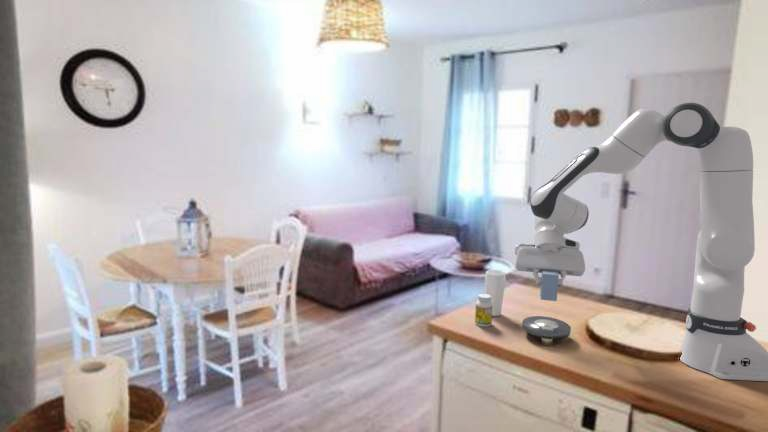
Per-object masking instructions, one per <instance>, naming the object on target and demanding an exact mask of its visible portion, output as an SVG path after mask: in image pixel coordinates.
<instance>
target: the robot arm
mask: <svg viewBox="0 0 768 432" xmlns="http://www.w3.org/2000/svg"><path fill="white" fill-rule="evenodd" d="M751 140H752V139H751V137H750V134H749V133H748V131H746V130H745V129H743V128H741V127H738V126H737V127H736V126H721V125H720V124H719V122H717V120H716V118H715V117H714V116H713V114H712V112H711V111H710V110H709V109H708V107H706V106H704V105H702V104H700V103H696V102H685V103H680V104H678V105H675V106H674V107H673V108H671V109H670V110H669V111H668V112H667V113H665V114H664V113H660V112H659V111H657V110H656V109H652V108H648V107H647V108H640V109H637V110H636V111H634V112H633V113H632V114H631V115H629V117H628V118H626V119H625V120H624V121H623V122H622V123H621V124H620V125H619V126H618V127H617V128H615V130H614V131H613V132H612V134H611V135H610V136H609V137H607V139H605V141H603V142H601V143H600V144H598V145H595V146H591V147H587V148H586V149H584V150H582V151H581V152H580V153H579V154H578V155H576V157H574V158H573V159H572V160H571V161H570V162H569V163H568V164H567V165H566V166H564V167H563V168H562V169H561V170H559V172H557V174H555V175H554V176H553V177H552V178H551V179H550V180H549V181H548V182H546V183H544V184H543V185H542V186H541V187H539V188H537V189H536V190H535V191H534V192H533V194H532V196H531V198H530V201H529V204H530V205H529V206H530V209H531V211H532V214H533V215H534V216H535V217H534V230H535V236H534V244H530V243H529V244H527V243H526V244H525V243H520V244H518V245H516V246H515V248H514V254H515V255H516V259H515V267H514V268H515V269H516V270H517V272H528V273H532V276H533V277H534V280H536V285H540V286H541V285H542V276H541V277H540V276H539V274H542V270H547V271H557V272H558V274H559V276H560V278H559V279H558V288H559V287H560V288H561V287H563V281H564V280H565V279H566V277H567V276H571V277H582V276H583V275H584V274H585V272H586V263H585V258H584V255H583V254H584V253H583V252H582V251H581V250H580V248H581V247H580V246H581V244H580V242H578V241H576V240H572V239H569V238H567V237H564V235H565V234H566V235H567V234H570V233H573V232H576V231H579V230H581V229H582V228H583V227H585V226H586V224H587V222H588V219H589V213H590V212H589V207H588V205H586V204H585V203H583V202H582V201H580V200H578V199H576V198H574V197H572V196H570V195H568V194H566V193H565V192H566V191H567V190H569V188H571V187H572V186H573V185H574V184H575V183H576V182H577V181H578V180H580V179H581V178H582V177H583V176H586V175H588V174H593V173H604V174H612V175H613V174H614V175H616V174H617V175H618V174H619V175H620V174H626V173H629V172H631V171H632V170H634V169H635V168H637V167H638V166H639V165H640V164H641V163H642V162H643V160H644V159H645V158H646V157H647V156H648V155H649V154H650V153H651V151H652V150H653V149H654V148H655V147H656V146H658V145H659V144H661V143H663V142H666V141H667V142H670V143H671V142H672V143H673V144H675V145H676V146H681V147H690V148H695V149H697V150H698V153H699V157H700V172H699V175H700V176H699V177H700V178H699V179H700V180H699V212H700V213H699V215H700V218H699V219H700V230H699V232H698V234H697V238H696V239H697V240H696V250H695V259H694V261H695V262H694V274H693V275H694V276H693V283H692V284H693V285H692V291H691V292H692V293H691V301H690V307H689V308H687V309H688V310H687V315H686V319H685V329H686V330H685V335H684V338H683V340H682V343H681V347H680V348H681V350H682V355H681V357H680V360H679V361H680V362H682V363H684V364H685V365H687V366H688V367H691V368H693V369H695V370H698V371H701V372H703V373H707V374H709V375H711V376H713V377H715V378H718V379H721V380H734V381H735V380H738V381H754V382H755V381H756V382H758V381H759V382H768V350H767V349H766V348H765V347H764V346H763V344H761V343H759V342H758V340H756V339H755V338H754V337H752V336H751V335H750V334H749V333H747V331H748V332H755V331H756V329H757V326H756V325H755V324H753V323H752V322H749V321H747V320H746V319H744V318H743V317H741V314H742V309H743V301H744V295H745V294H744V293H745V267H746V266H748V264H750V262H751V261H752V260H753V258H754V255H755V252H756V251H755V250H756V249H755V220H754V219H755V218H754V207H753V191H754V190H753V189H754V188H753V187H754V154H753V146H752V141H751Z"/></svg>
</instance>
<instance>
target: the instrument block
mask: <svg viewBox="0 0 768 432" xmlns="http://www.w3.org/2000/svg"><path fill="white" fill-rule="evenodd" d="M541 277H542V285H540V290H539V298H540V301H541V300H542V301H548V302H549V301H550V302H557V300H558V290H559V289H558V288H559V286H558V279H560V275H559V274H558V272H557V271H547V270H542V273H541Z"/></svg>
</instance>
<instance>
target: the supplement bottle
mask: <svg viewBox="0 0 768 432" xmlns="http://www.w3.org/2000/svg"><path fill="white" fill-rule="evenodd" d="M490 301H491V296H490V295H487V294H485V293H480V294H478V295H477V301H476V302H475V312H474V313H475V314H474V315H475V316H474V317H475V318H474V324H475V325H476V326H479V327H490V326H491V325H492V323H493V322H492V321H493V316H492V308H493V304H492V303H491V302H490Z"/></svg>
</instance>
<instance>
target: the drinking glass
mask: <svg viewBox="0 0 768 432" xmlns="http://www.w3.org/2000/svg"><path fill="white" fill-rule="evenodd" d="M506 275H507V273H506V272H505V271H503V270H498V269H488V270H486V271H485V275H484V276H485V278H484V290H485V291H484V292H485V293H484V294H487V295H490V296H491V301H490V302H491V303H492V304H493V308H492V317H500V316H501V315H502V308H503V301H504V296H505V295H504V294H505V290H506V289H505V288H506V282H507V281H506V279H507V277H506Z"/></svg>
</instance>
